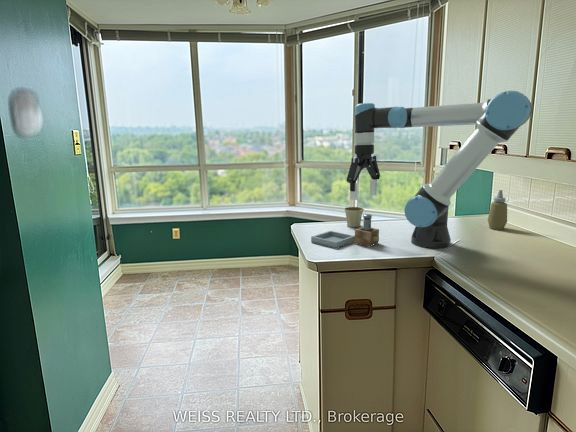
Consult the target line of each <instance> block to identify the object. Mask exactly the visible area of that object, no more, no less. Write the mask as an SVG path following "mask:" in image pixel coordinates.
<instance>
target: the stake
mask: <svg viewBox="0 0 576 432" xmlns="http://www.w3.org/2000/svg"><path fill="white" fill-rule="evenodd" d="M372 217H373V215H372V214H369V213H368V214H367V213H365V214H362V218H363V222H362V223H363V225H362V227H363V230H364V231H371V228H372Z"/></svg>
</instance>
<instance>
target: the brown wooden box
mask: <svg viewBox="0 0 576 432" xmlns="http://www.w3.org/2000/svg"><path fill="white" fill-rule="evenodd" d="M379 235H380V229H379V228H373V227H371V231H364V230H363V226H362V227H361V226H360V227H357V228H355V229H354V236H355V242H354V244H355V243H357V244H356V245H358V244H362V245H366V246H365V247H367V246H371V245H373V244H376V243H378V242H379V241H380V236H379ZM378 244H379V243H378ZM362 245H361V246H362ZM376 245H377V244H376ZM373 246H374V245H373ZM371 247H372V246H371Z"/></svg>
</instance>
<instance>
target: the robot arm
mask: <svg viewBox="0 0 576 432" xmlns="http://www.w3.org/2000/svg"><path fill="white" fill-rule="evenodd" d="M532 111H533V106H532V102H531V101H530V99H529V98H528V96H527V95H525V94H524V93H522V92H520V91H518V90H507V91H502V92H499V93H498V94H496V95H494V96H493V97H492V98H488V99H486V100H485V101H484V102H475V103H473V102H472V103H460V104H459V103H458V104H447V105H432V106H431V105H430V106H419V107H405V106H389V107H376V104H375V103H374V102H373V103H372V102H371V103H370V102H366V103H365V102H364V103H363V102H362V103H357V104H356V105H355V108H354V144H355V145H354V155H356V157H355V156H354V157H353V156H352V157H351V163H350V166H349V170H348V173H347V176H346V183H349V192H350V194H349V195H350V199H349V200H355V201H357V200H358V183H357V181H358V179H359V176H360V174H361V173H362V170H364V169H366V170H367V172H368V174H369V177H370V178H371V179H369V195H370V196H377V186H378V182H377V181H378V180H380V178H381V172H380V169H379V166H378V161H377V155H373V154H374V153H375V145H374V143H375V129H406V128H419V127H420V128H425V127H427V128H428V127H445V126H446V127H448V126H449V127H450V126H473V125H475V126H476V128H475V129H474V130H473V132H472V133H471V134H470V135H469V136H468V138H467V139H466V140H465V141H464V143H462V145H461V146H460V147H459V148H458V150H457V151H456V152H455V153H454V155H452V157H451V158H450V159H449V161H447V162H446V164H445V165H444V166H443V168H442V169H441V170H440V171H439V172H438V173H437V175H436V176H435V177H434V178H433V180H431V182H430V183H424V184H423V185H422V186H420V187H419V189H418V191H417V192H416V193H415V195H414V196H413V197H410V198H409V199H408V200H407V202H406V203H405V205H404V211H403V212H404V216H405V218H406V220H407V221H408V223H410V224H411V225H413V226H414V227H415V228H414V230H413V231H412V234H411V239H410V242H411V243H412V244H413V245H416V246H418V247H423V248H427V247H428V248H429V249H445V248H448V247H450V246H451V241H452V240H451V239H452V238H451V235H450V231H449V228H448V219H449V218H448V217H449V207H450V206H451V204H452V202H451V198H452V197H453V195H454V194H455V193H456V192H457V191H458V189H460V187H462V185H463V184H464V183H465V182H466V181H467V180H468V179H469V178H470V177H471V175H473V173H474V172H475V171H476V170H477V168H478V167H479V166H480V165H481V164H482V163H483V161H484V160H485V159H486V158H487V157H488V156H489V155H490V153H492V151H493V150H494V149H495V148H497V146H498V145H499V144H501V143H504V142H505V143H506V142H508V141H509V140H510V139H511V138H512V136H513V135H514V134H515V133H516V132H517V131H518V129H520V128H521V127H522V126H523V125H524V124H526V123H527V122H528V120H529V119H530V117H531V116H532V114H533V113H532Z"/></svg>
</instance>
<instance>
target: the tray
mask: <svg viewBox="0 0 576 432" xmlns="http://www.w3.org/2000/svg"><path fill="white" fill-rule="evenodd" d="M310 238H311V239H310V240H311V241H310V242H311V243H312V244H315V245H316V244H317V245H320V246H323V245H325V246H324V247H327V246H329V247H328V248H331V247H333V249H335V248H337V249H338V247H339V248H341V247H340V246H342V247H344V246H343V245H345V246H347V245H350V244H352V243H351V242H353V243H355V242H354V241H355V235H353V234H352V235H351V234H348V233H343V232H338V231H334V230H329V231H326V232H322V233H319V234H316V235H312V236H311V237H310ZM349 243H350V244H349ZM346 244H347V245H346Z"/></svg>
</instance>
